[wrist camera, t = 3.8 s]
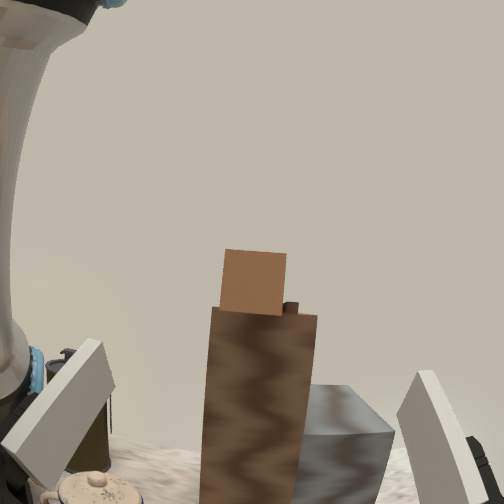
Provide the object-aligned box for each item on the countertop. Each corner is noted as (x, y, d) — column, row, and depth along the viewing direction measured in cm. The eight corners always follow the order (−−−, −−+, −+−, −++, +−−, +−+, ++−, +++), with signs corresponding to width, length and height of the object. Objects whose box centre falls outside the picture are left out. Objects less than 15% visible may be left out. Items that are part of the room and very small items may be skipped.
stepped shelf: (198, 551, 20) (213, 295, 26) (223, 477, 40) (238, 301, 46) (352, 555, 19) (412, 308, 24) (329, 483, 39) (355, 309, 44)
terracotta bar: (219, 310, 14) (225, 249, 15) (259, 309, 44) (261, 289, 44) (281, 315, 14) (286, 253, 15) (279, 311, 44) (281, 290, 44)
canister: (47, 468, 28) (36, 350, 32) (60, 441, 38) (56, 340, 42) (111, 480, 32) (107, 364, 35) (115, 451, 42) (114, 351, 45)
